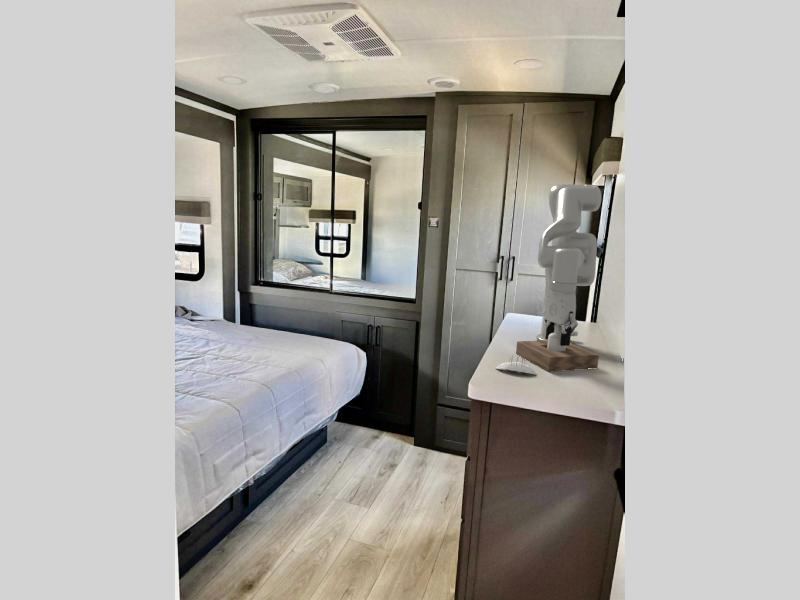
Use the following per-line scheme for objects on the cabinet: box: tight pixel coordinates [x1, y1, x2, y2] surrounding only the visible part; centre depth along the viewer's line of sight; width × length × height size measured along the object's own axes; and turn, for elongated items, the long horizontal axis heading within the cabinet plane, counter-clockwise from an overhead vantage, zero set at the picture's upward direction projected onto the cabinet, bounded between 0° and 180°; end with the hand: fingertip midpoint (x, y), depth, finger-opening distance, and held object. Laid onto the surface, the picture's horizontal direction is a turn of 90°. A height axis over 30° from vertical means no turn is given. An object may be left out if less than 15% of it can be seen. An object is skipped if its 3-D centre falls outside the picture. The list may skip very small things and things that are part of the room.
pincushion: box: [495, 355, 537, 376], centre depth 132 cm, size 12×6×6 cm, turn 71°
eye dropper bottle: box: [547, 324, 566, 352], centre depth 144 cm, size 4×6×12 cm
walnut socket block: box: [515, 340, 600, 373], centre depth 145 cm, size 18×18×4 cm
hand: (557, 341), depth 144 cm, fingers open, 7 cm apart
